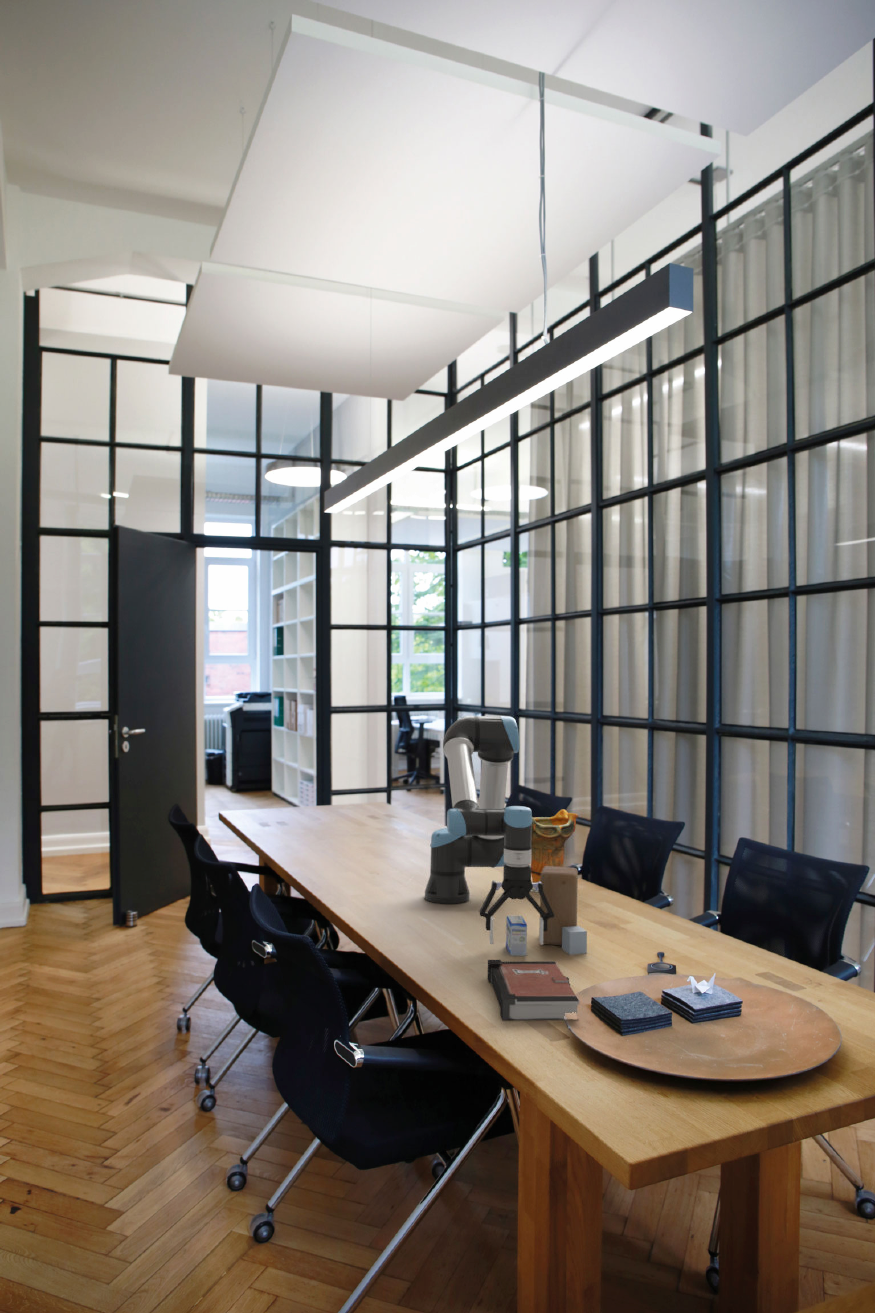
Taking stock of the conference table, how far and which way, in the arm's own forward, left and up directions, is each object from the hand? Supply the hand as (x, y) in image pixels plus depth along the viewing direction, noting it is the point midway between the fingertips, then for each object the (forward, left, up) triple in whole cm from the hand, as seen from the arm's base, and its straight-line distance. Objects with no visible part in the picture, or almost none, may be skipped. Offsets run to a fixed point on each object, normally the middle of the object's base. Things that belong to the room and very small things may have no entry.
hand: (516, 943), depth 230 cm
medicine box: (0, 0, -2) cm, 2 cm away
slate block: (+16, +1, -2) cm, 16 cm away
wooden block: (+13, +10, -2) cm, 17 cm away
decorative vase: (+18, +73, -2) cm, 75 cm away
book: (0, -34, -3) cm, 34 cm away
